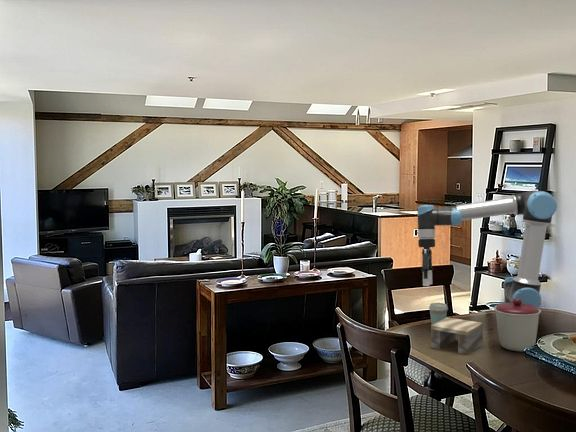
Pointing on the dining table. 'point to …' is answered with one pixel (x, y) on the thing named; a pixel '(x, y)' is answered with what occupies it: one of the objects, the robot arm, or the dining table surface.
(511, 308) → the canister
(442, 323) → the shelf
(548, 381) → the dining table surface
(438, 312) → the coffee cup
